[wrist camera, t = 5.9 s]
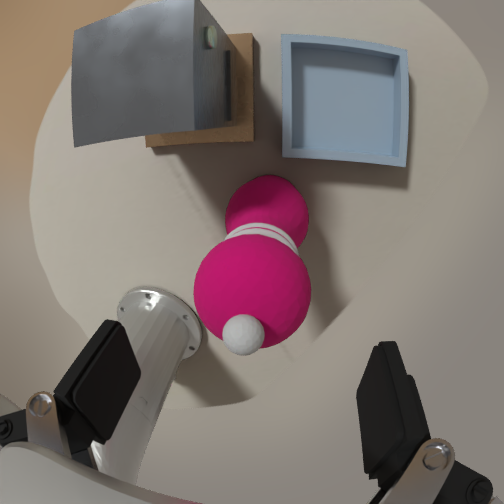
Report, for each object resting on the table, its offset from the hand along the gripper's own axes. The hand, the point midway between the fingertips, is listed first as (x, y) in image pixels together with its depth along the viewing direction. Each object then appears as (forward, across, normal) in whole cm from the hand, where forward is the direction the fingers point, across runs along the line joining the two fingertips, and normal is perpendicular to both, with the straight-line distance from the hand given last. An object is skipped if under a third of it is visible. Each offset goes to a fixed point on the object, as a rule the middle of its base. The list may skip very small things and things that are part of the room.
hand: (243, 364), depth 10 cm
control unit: (+21, +8, -11) cm, 25 cm away
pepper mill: (+21, 0, +1) cm, 21 cm away
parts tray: (+21, -6, -10) cm, 25 cm away
